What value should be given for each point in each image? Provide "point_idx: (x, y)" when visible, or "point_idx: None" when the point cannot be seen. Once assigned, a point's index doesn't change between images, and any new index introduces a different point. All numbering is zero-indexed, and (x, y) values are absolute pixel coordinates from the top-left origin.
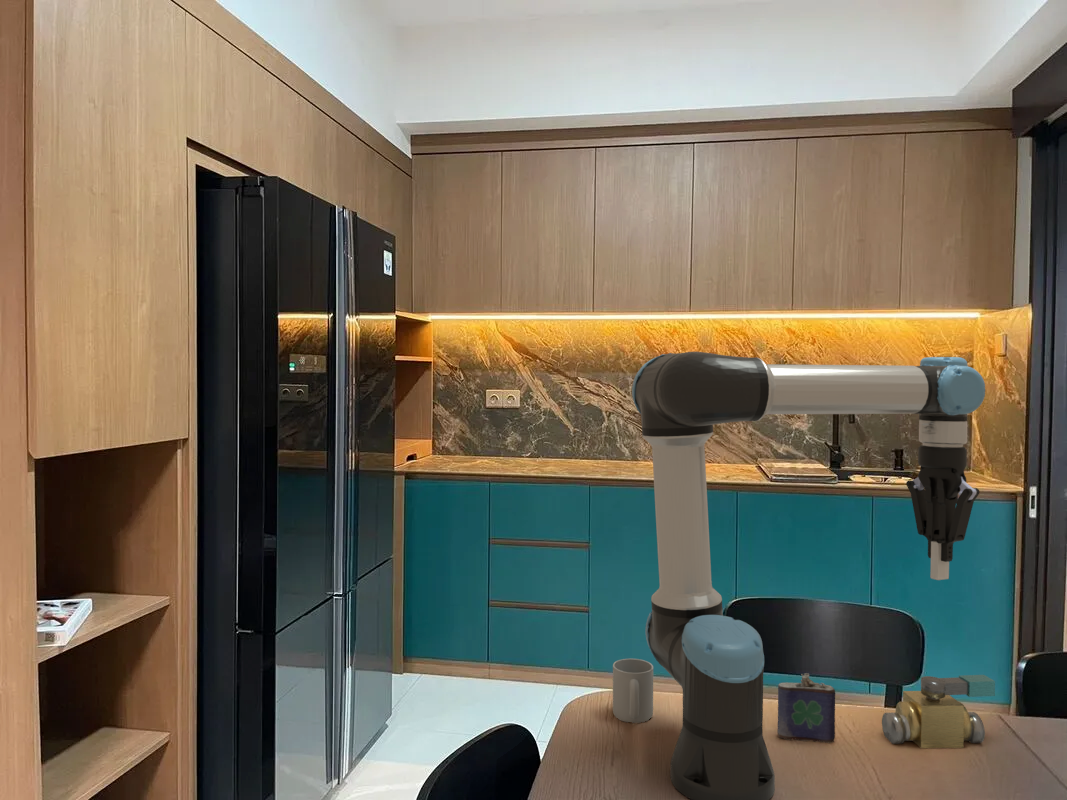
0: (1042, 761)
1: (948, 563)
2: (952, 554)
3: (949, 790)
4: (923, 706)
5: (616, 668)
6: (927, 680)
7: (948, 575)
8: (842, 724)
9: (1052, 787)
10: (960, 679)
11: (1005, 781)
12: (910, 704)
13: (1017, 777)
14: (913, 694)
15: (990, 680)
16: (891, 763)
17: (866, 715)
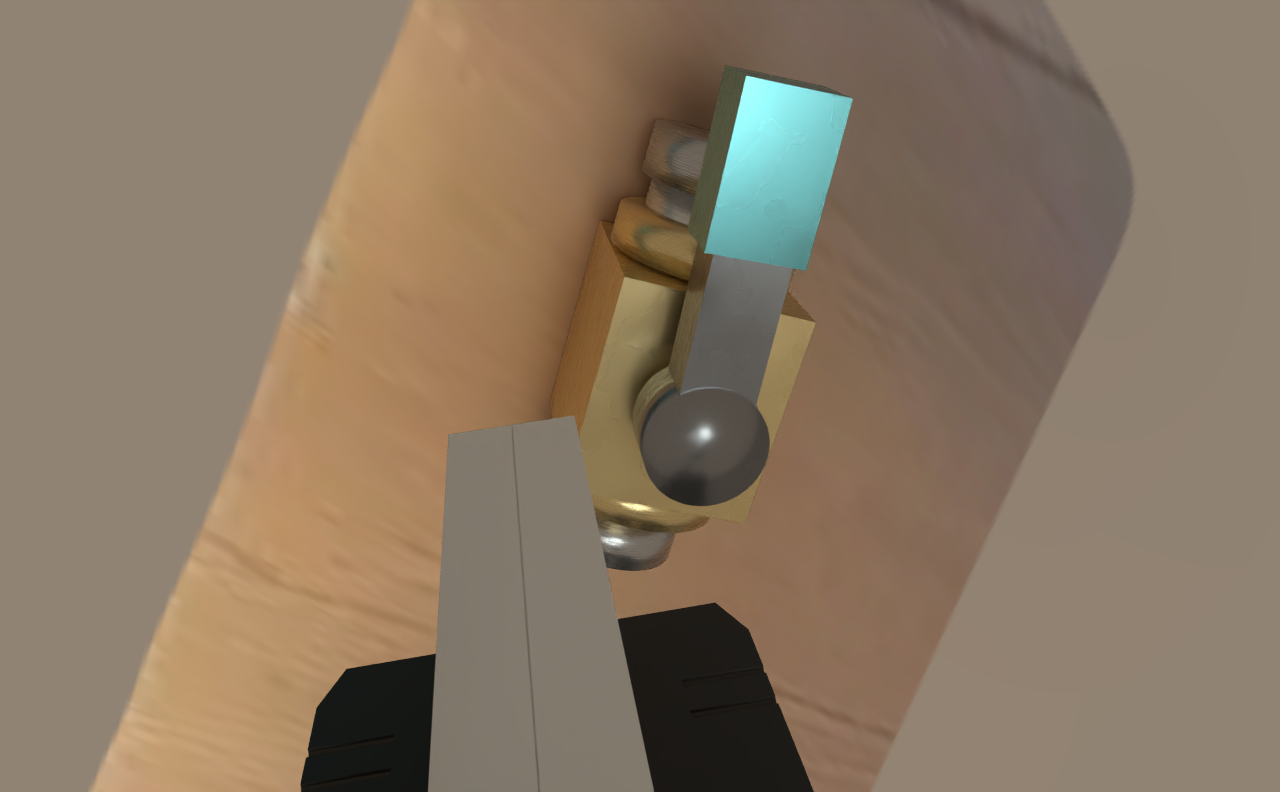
0: (976, 12)
1: (598, 537)
2: (766, 681)
3: (975, 550)
4: (747, 515)
5: None
6: (697, 478)
7: (576, 438)
8: (418, 597)
9: (1122, 179)
10: (741, 275)
11: (1017, 317)
12: (660, 510)
13: (1017, 246)
14: (617, 468)
15: (833, 118)
16: (760, 613)
17: (355, 446)
